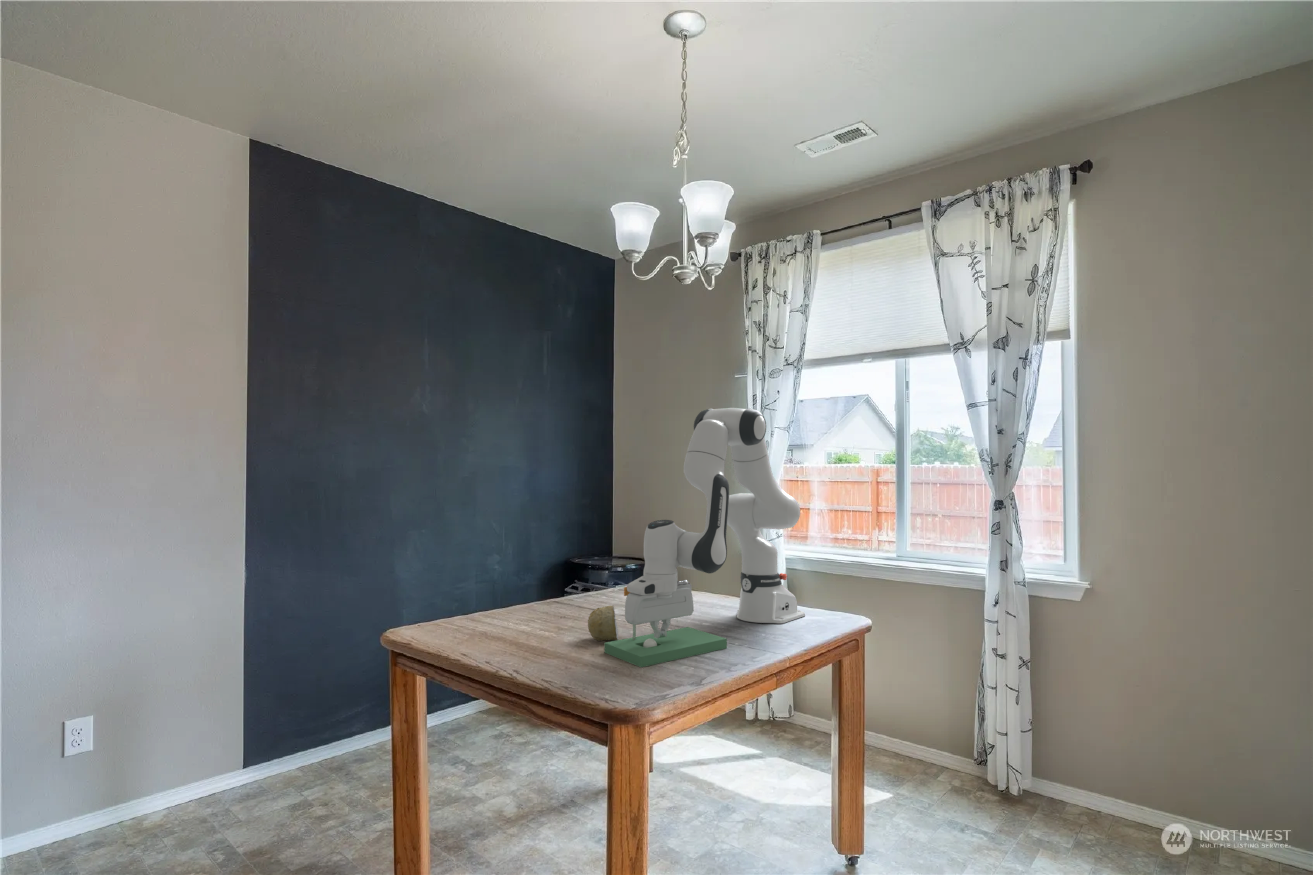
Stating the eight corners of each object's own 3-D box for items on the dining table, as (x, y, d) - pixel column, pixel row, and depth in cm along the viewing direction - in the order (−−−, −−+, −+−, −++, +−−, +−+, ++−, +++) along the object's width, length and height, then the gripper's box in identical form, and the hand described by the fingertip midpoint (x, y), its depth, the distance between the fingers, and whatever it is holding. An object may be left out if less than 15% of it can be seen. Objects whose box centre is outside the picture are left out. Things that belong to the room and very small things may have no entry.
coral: (628, 618, 185) (594, 603, 185) (613, 652, 186) (579, 637, 186) (630, 608, 195) (598, 594, 195) (616, 640, 196) (584, 626, 196)
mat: (687, 635, 194) (687, 576, 195) (726, 648, 182) (726, 585, 182) (604, 652, 177) (604, 588, 178) (641, 667, 165) (641, 597, 165)
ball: (653, 646, 179) (649, 634, 178) (661, 649, 176) (657, 637, 176) (642, 654, 177) (638, 642, 176) (651, 657, 174) (646, 645, 174)
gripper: (683, 577, 188) (683, 629, 187) (621, 585, 175) (621, 640, 175) (698, 580, 183) (698, 633, 182) (636, 589, 170) (635, 645, 170)
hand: (660, 637), depth 178 cm, fingers closed
